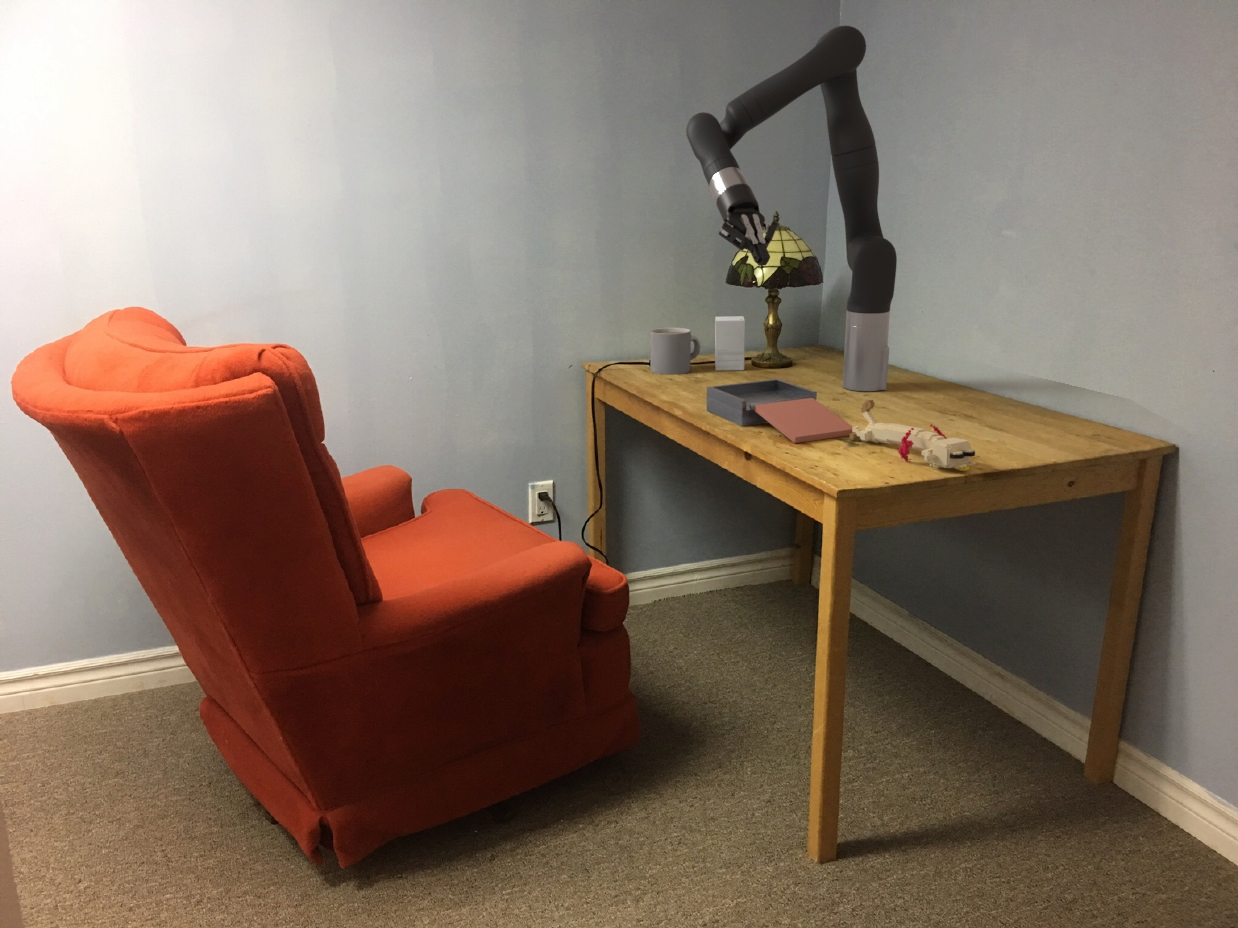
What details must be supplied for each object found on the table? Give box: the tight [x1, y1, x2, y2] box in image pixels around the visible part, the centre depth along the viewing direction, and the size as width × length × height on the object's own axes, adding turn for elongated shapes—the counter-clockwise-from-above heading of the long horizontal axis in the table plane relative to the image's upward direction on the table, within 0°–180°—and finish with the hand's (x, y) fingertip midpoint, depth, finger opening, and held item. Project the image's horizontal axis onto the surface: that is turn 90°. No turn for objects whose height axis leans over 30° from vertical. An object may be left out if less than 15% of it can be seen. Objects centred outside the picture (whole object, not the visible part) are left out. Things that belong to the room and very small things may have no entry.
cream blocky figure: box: [849, 398, 976, 472], centre depth 155 cm, size 10×9×25 cm
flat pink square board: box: [750, 396, 853, 444], centre depth 172 cm, size 2×14×15 cm
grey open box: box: [706, 378, 818, 427], centre depth 185 cm, size 14×17×5 cm
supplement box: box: [714, 315, 746, 371], centre depth 229 cm, size 7×7×13 cm
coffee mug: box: [649, 327, 701, 376], centre depth 228 cm, size 13×10×10 cm
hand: (764, 262), depth 177 cm, fingers closed
